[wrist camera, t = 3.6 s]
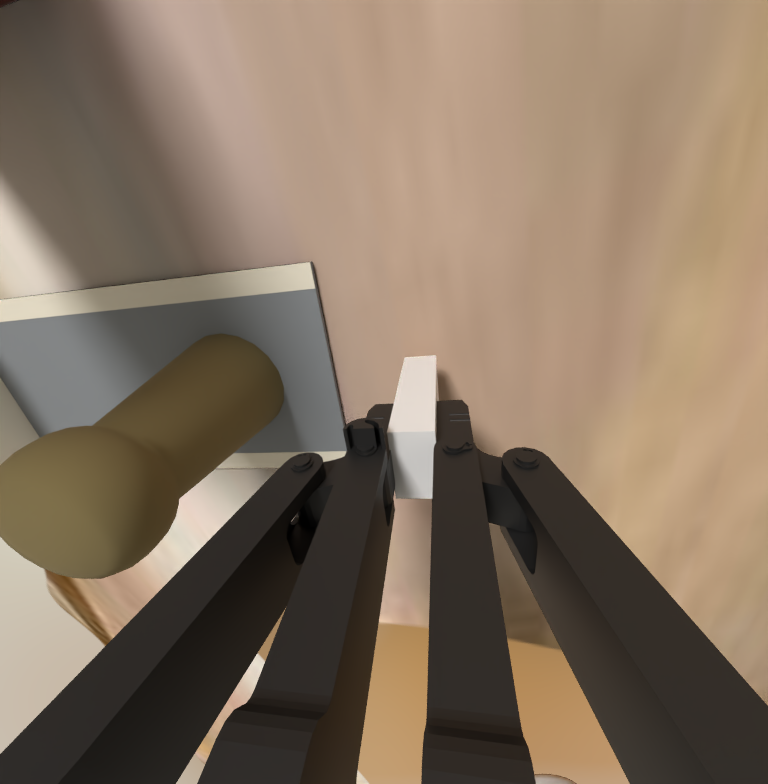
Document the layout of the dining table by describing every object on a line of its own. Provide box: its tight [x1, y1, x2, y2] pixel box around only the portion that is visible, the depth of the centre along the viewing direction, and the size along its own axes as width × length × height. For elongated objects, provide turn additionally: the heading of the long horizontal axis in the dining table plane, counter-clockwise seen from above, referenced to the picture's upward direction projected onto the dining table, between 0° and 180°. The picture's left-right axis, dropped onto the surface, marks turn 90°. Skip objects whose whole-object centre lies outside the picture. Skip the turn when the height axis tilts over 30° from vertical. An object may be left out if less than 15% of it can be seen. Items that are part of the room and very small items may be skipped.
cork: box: [0, 334, 284, 579], centre depth 15 cm, size 6×6×11 cm
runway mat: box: [0, 262, 347, 469], centre depth 21 cm, size 12×22×1 cm, turn 97°
